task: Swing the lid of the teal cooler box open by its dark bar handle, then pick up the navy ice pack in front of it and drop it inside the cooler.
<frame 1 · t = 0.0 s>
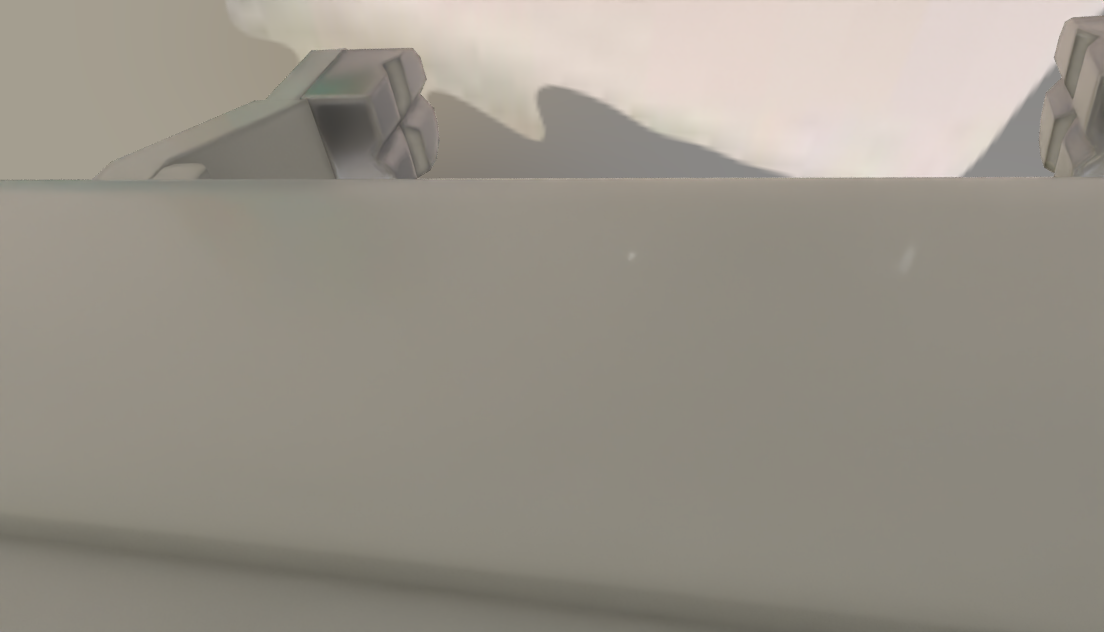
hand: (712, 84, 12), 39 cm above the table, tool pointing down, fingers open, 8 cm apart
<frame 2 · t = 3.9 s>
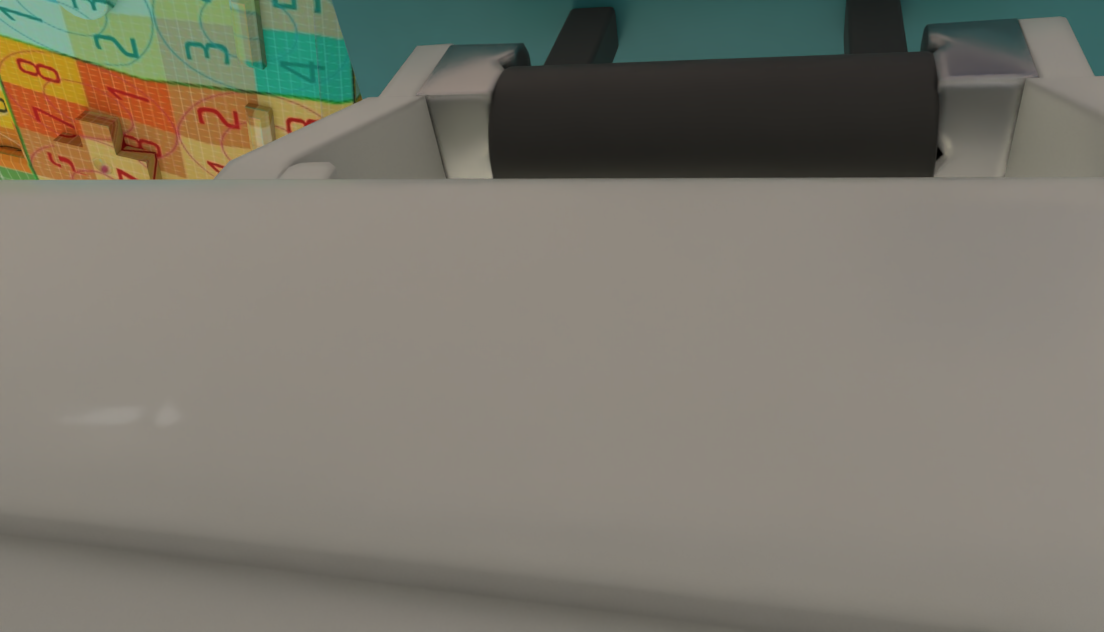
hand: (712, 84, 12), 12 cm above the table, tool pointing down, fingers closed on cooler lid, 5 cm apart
cooler lid: (726, 395, 16), point 11 cm above the table, hinge at -0.1°, touching gripper
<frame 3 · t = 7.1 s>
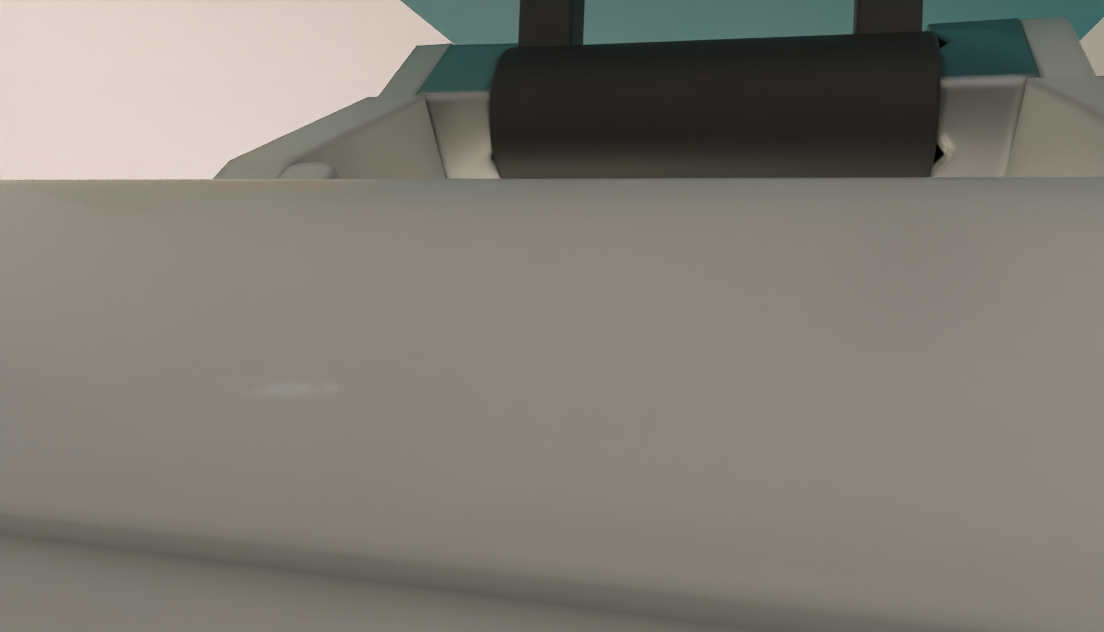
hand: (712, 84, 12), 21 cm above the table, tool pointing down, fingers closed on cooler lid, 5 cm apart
cooler lid: (741, 105, 17), point 17 cm above the table, hinge at 48.9°, touching gripper
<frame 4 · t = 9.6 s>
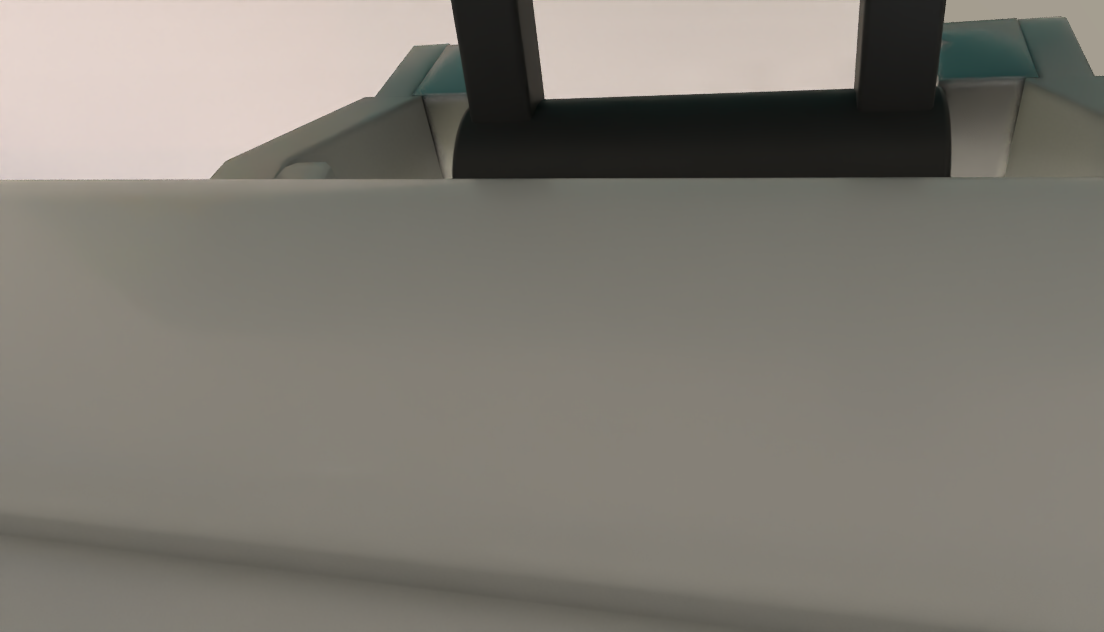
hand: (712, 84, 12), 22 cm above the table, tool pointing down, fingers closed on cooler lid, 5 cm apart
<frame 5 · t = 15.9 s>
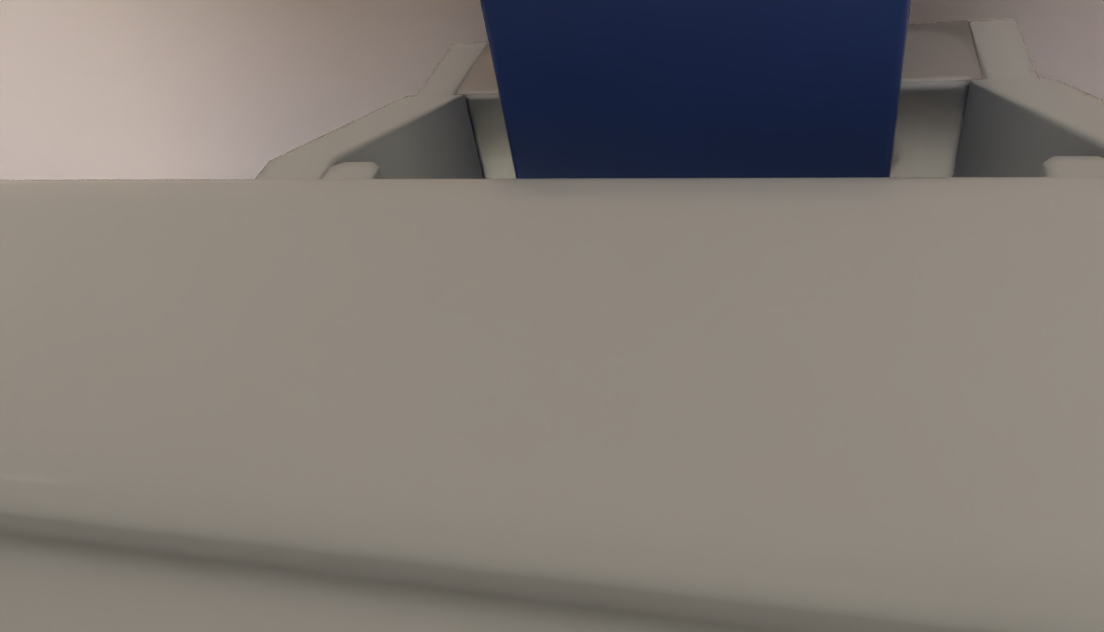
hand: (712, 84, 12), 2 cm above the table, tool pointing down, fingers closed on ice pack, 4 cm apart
ice pack: (725, 32, 13), on the table, touching gripper
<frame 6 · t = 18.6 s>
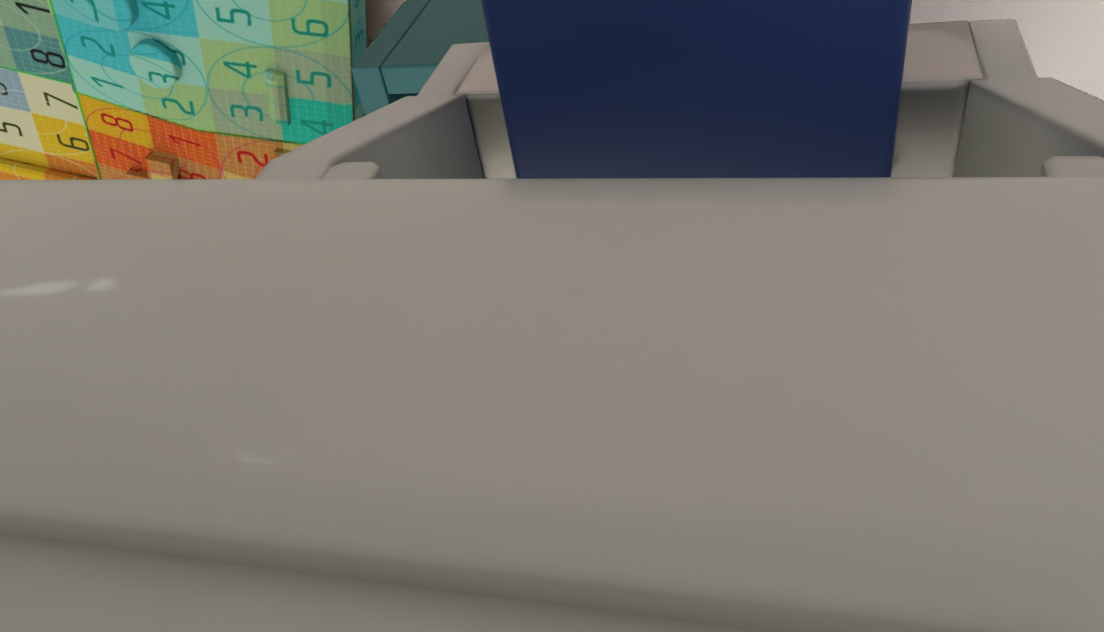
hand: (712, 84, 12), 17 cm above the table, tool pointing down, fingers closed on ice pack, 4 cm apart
cooler: (659, 148, 32), on the table
puzzle game: (145, 35, 34), on the table
ice pack: (726, 32, 13), point 16 cm above the table, touching gripper
when the fingers open (10 cm above the table, at t = 21.3 s): ice pack drops 7 cm, resting on cooler.
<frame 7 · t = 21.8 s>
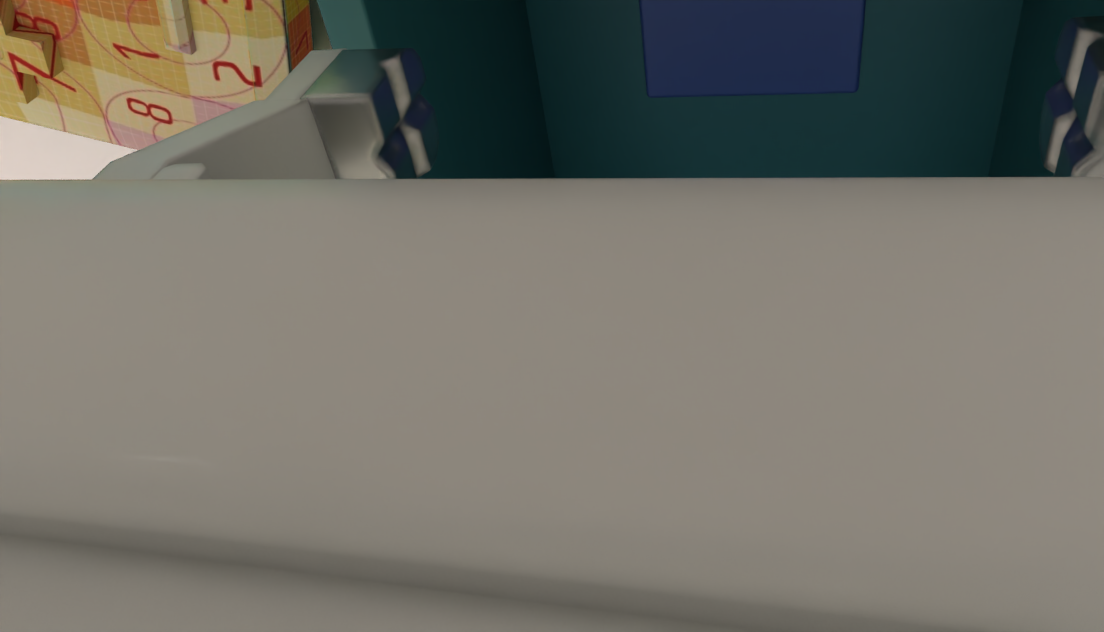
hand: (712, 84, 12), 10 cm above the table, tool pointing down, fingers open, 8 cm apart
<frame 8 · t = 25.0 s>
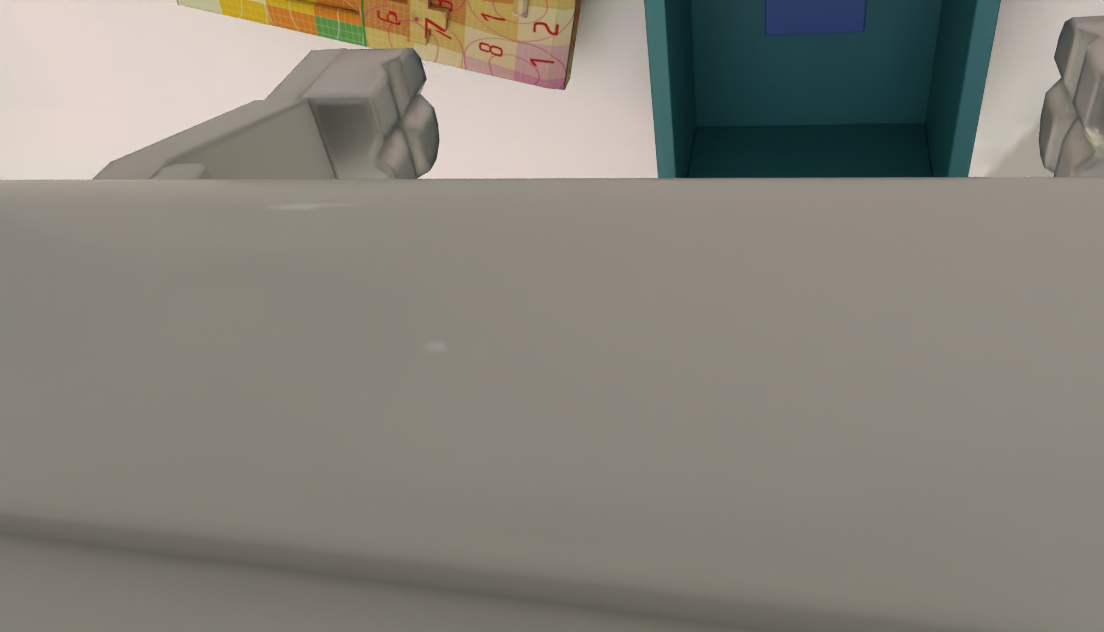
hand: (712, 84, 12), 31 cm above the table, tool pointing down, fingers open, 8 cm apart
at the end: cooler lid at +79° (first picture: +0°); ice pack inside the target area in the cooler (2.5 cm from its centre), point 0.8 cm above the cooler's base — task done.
